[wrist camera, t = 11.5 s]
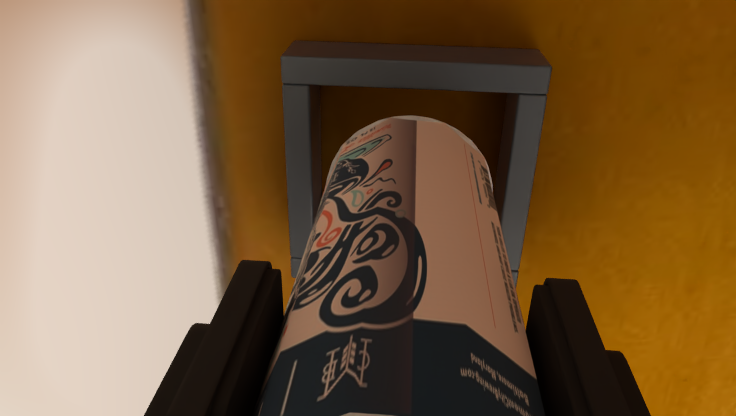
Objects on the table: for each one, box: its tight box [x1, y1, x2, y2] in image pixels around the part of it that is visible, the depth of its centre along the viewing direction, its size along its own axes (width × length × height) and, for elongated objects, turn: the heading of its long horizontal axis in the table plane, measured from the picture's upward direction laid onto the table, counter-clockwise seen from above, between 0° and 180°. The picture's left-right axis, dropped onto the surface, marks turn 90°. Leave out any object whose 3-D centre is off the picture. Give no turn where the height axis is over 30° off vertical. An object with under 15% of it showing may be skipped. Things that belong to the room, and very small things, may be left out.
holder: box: [281, 40, 552, 289], centre depth 19 cm, size 7×7×2 cm
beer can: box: [252, 115, 545, 416], centre depth 12 cm, size 5×5×12 cm
